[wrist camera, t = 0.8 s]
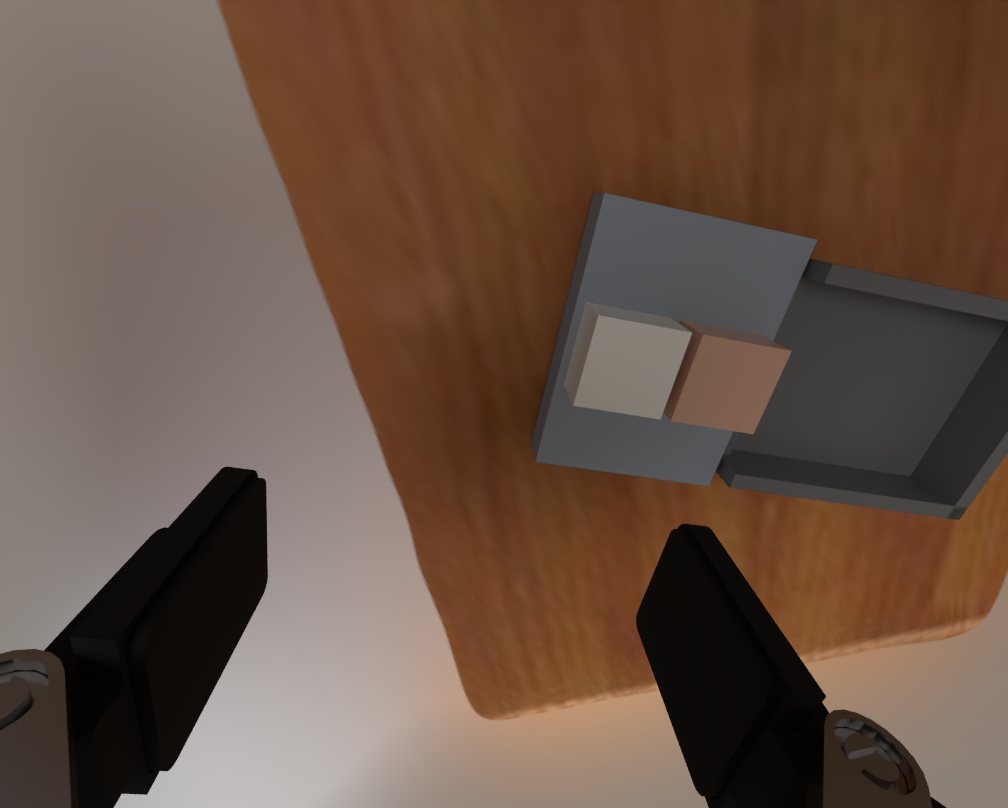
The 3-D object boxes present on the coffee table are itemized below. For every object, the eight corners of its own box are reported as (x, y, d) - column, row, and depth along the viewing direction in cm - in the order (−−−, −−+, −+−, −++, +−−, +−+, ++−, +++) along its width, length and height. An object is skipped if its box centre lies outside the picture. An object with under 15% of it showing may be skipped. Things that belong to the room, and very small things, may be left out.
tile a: (585, 301, 26) (598, 315, 23) (670, 317, 27) (692, 332, 24) (563, 384, 28) (573, 405, 25) (643, 397, 29) (660, 419, 26)
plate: (593, 192, 26) (604, 192, 24) (789, 235, 28) (817, 239, 25) (531, 442, 33) (535, 461, 30) (693, 466, 34) (709, 486, 32)
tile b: (680, 319, 27) (703, 334, 24) (760, 334, 27) (791, 351, 25) (652, 399, 29) (670, 421, 26) (727, 411, 29) (753, 434, 27)
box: (787, 253, 28) (833, 263, 24) (1027, 305, 30) (1102, 321, 27) (702, 455, 34) (729, 487, 30) (910, 486, 36) (958, 519, 32)
